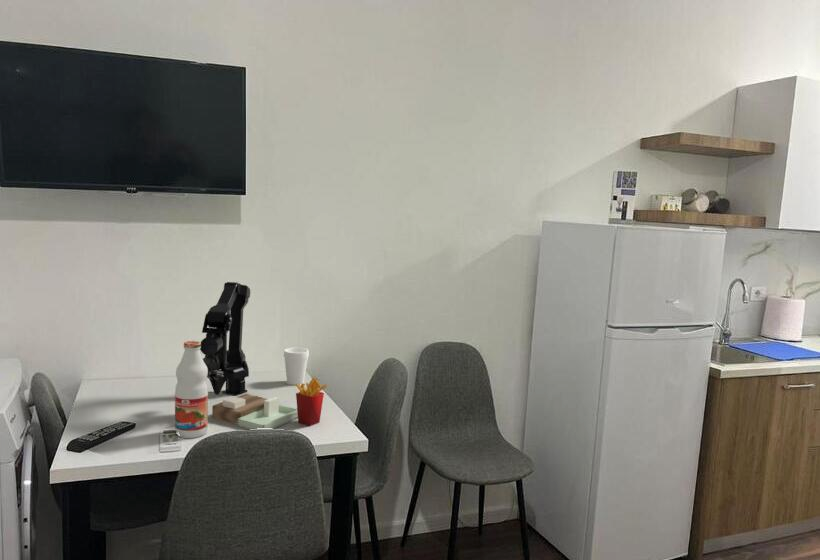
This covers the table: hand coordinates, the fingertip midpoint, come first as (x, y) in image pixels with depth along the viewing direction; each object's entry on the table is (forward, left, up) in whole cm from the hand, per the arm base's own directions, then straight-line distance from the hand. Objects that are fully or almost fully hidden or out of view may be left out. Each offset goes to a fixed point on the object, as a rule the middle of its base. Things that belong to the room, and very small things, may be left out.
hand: (216, 394), depth 219 cm
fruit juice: (+7, -18, -6) cm, 21 cm away
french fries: (+31, +11, -6) cm, 33 cm away
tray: (+19, +4, -6) cm, 21 cm away
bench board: (+8, +4, -6) cm, 11 cm away
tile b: (+8, 0, -2) cm, 8 cm away
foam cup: (-1, +44, -6) cm, 44 cm away
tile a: (+15, +8, -3) cm, 17 cm away
